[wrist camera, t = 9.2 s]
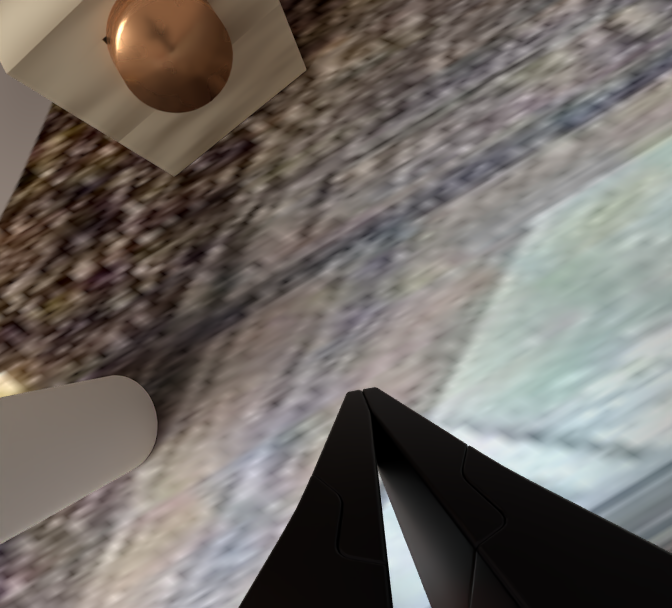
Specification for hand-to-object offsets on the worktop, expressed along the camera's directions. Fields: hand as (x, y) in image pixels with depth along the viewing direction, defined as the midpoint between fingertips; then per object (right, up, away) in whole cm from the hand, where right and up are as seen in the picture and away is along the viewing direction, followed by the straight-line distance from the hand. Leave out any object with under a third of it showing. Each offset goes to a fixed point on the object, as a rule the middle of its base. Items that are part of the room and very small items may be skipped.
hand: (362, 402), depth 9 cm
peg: (-10, +18, +11) cm, 24 cm away
